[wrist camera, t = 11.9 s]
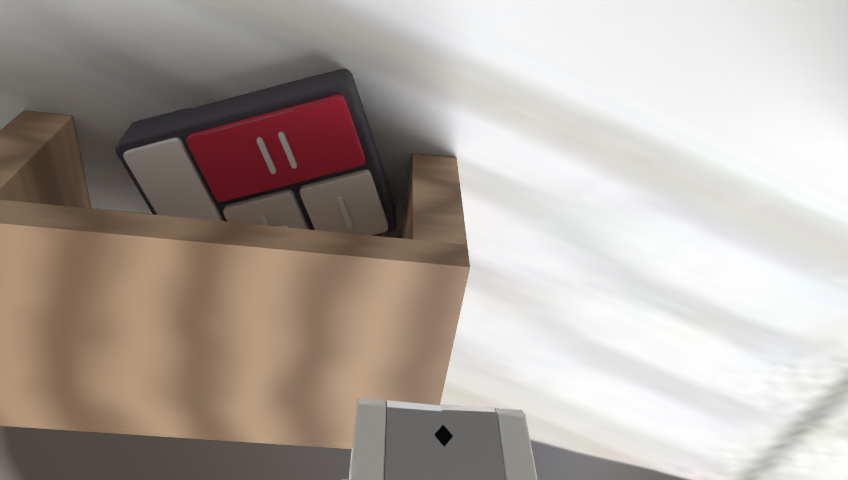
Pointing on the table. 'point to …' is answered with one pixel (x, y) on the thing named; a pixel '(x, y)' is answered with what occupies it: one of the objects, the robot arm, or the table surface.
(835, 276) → the table surface
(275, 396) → the monitor riser
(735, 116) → the table surface
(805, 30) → the table surface
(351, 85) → the calculator
